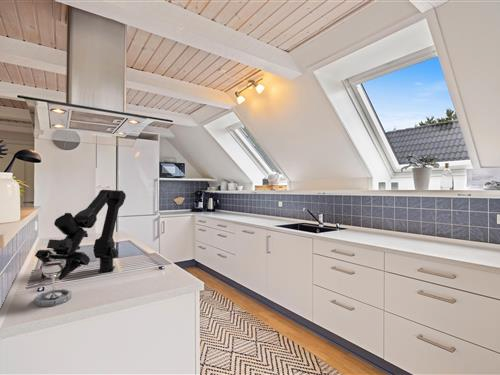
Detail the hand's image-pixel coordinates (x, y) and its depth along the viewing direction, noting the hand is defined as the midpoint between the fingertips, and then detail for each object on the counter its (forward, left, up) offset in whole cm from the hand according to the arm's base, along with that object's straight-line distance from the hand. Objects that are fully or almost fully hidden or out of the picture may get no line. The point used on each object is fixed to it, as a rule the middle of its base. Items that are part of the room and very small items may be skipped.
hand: (50, 278), depth 102 cm
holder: (-1, 0, -8) cm, 8 cm away
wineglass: (-1, +1, -7) cm, 7 cm away
